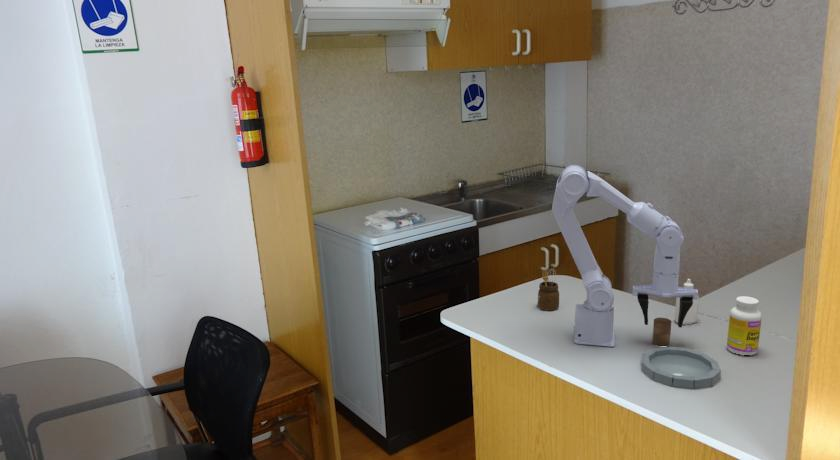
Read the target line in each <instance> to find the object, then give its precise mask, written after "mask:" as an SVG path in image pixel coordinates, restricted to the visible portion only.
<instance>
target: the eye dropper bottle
mask: <svg viewBox="0 0 840 460" xmlns="http://www.w3.org/2000/svg"><path fill="white" fill-rule="evenodd" d="M691 280H692V279H690V278H687V280H686V282H684V283H683V288H689V289H694V288H695V287H694V283H692V281H691ZM675 299H676V300H675V309H674V310H675V311H674V322H675V323H676V324H678V317H679V308H680V298H677V297H675ZM699 300H700V296H699V295H698V300H694V299H693V304H692V306H691V308H690V309H689V311H688V312H687V314H686V316H685V318H684V321H683V325H682V326H688V325H687V324H689V325H693V323H694V324H696V323H697V322H698V315H699V303H700V302H699Z"/></svg>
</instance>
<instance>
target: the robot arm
mask: <svg viewBox="0 0 840 460" xmlns="http://www.w3.org/2000/svg"><path fill="white" fill-rule="evenodd" d="M555 185H556V186H555V191H554V195H553V200H552V207H551V212H552V214H553V216H554V219H555V221H556V223H557V225H558V228H559V230H560V232H561V234H562V237H563V238H564V242H565V244H566V246H567V247H568V249H569V251H570V255H571V256H572V258H573V261H574V263H575V265H576V267H577V270H578V271H579V274H580V276H581V279H582V282H583V286H584V288H585V291H586V299H585V300H584V302H583V303H580V304H576V305H575V314H574V325H573V333H574V336H573V337H574V339H573V343H574V344H577V345H578V344H579V345H586V346H587V345H588V346H589V345H590V346H597V347H598V346H600V347H612V348H613V347H615V333H614V321H615V320H614V317H615V313H614V312H615V303H614V301H615V296H614V293H613V289H612V288H613V286H612V284H613V283H612V282H611V280H610V279H609V277H607V276H606V275H604V273H603V271H602V269H601V267H600V266H599V264H598V262H597V260H596V258H595V256H594V253H593V251H592V249H591V246H590V245H589V243H588V240H587V238H586V236H585V233H584V231H583V230H582V227H581V225H580V223H579V221H578V218H577V216H576V213H575V212H574V208H575V206H576V204H577V203H578V201H579V199H580V198H582V196H583V195H584V194H586V197H587V198H588V197H589V198H591V197H598V198H601V199H602V200H604V201H606V202H608V204H611V205H612V206H614V207H615V208H616V209H618V210H620V211H622V212H623V213H624V214H626V219H627V223H629V224H631V225H632V226H633V227H635V228H636V229H638V230H639V231H641V232H642V233H644V234H645V235H647V236H648V237H650V238H655V240H656V241H655V249H654V255H653V257H654V258H653V270H652V271H653V273H652V284H649V285H632V296H633V297H637V302H638V304H639V306H640V309H641V311H642V315H643V318H644V322H643V323H644V325H645V326H648V325H649V324H648V323H649V297H662V298H676V297H677V298H680V308H679V317H678V323H677V325H678V328H682V327H683V325H682V324H683V321H684V318H685V316H686V314H687V312H688V311H689V309H690V308H691V306H692V304H693V299H694V300H698V296H699V290H698V289H695V288H693V289H689V288H683V287H681V286H679V278H680V262H681V251H680V250H681V246H682V245H683V243H684V241H685V237H684V234H683V231H682V229H681V228H680V226H679V225H678V223H676V222H675V221H674V219H671V218H670V216H668V215H663V214H661V213H660V212H659V211H657V210H656V209H654V205H653V204H652V203H650V202H647V203H645V202H644V201H638V202H634V201H633V200H631V199H630V198H629V197H627V196H626V195H625V194H623V193H622V192H620V191H619V190H618V189H617V188H615V187H613V186H612V185H611V184H610V183H608V182H607V181H606V180H604V179H603V178H601V177H600V176H598V175H596V174H594V172H591V171H589V170H587V171H586V169H585V168H584V167H582V166H581V165H577V164H571V165H567V167H564V169H563V170H562V171H561V173H560V175H559V177H558V178H557V180H556V184H555Z"/></svg>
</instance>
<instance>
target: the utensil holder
mask: <svg viewBox="0 0 840 460" xmlns="http://www.w3.org/2000/svg"><path fill="white" fill-rule="evenodd" d="M551 271H552V272H553V273H552V272H551ZM541 272H542V273H541V274H542V275H541V276H542V280H543V281H542V282H540V283H539V287H538V288H539V289H538V292H537V307H538V309H540V310H542V311H546V312H547V311H548V312H551V311H556V310H558V309H559V307H560V291H559V284H558V282H556V279H557V278H556V277H557V274H555V273H557V272H556V270H555V269H552V270H542V271H541ZM554 272H555V273H554ZM549 273H550V274H549ZM551 273H552V274H554V275H555V278H554V275H552V276H553V277H552V278H554V279H551V280H552V281H551V280H549V276H551Z"/></svg>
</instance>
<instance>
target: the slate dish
mask: <svg viewBox="0 0 840 460" xmlns="http://www.w3.org/2000/svg"><path fill="white" fill-rule="evenodd" d="M640 361H641V362H640V365H641V372H642V373H644V374H645V375H646V376H647V377H648V378H650V380H652V381H654V382H658V383H660V384H663V385H665V386H669V387H672V388H679V389H687V390H688V389H690V390H696V389H701V388H708V387H709V388H710V387H713V386H714V385H715V384H716V383H717V382H719V381H720V380H721V373H722V371H721V367H720V365H719V364H720V363H719V362H718V361H717V360H715V359H714V358H713V357H711V356H710V355H708V354H706V353H704V352H702V351H701V352H700V351H697V350H693V349H690V348H688V347H687V348H686V347H678V346H677V347H676V346H668V347H654V348H651V349H650V348H649V350H647V351H645V352H644V353H642V354H641V360H640ZM719 379H720V380H719ZM713 384H714V385H713Z"/></svg>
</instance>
